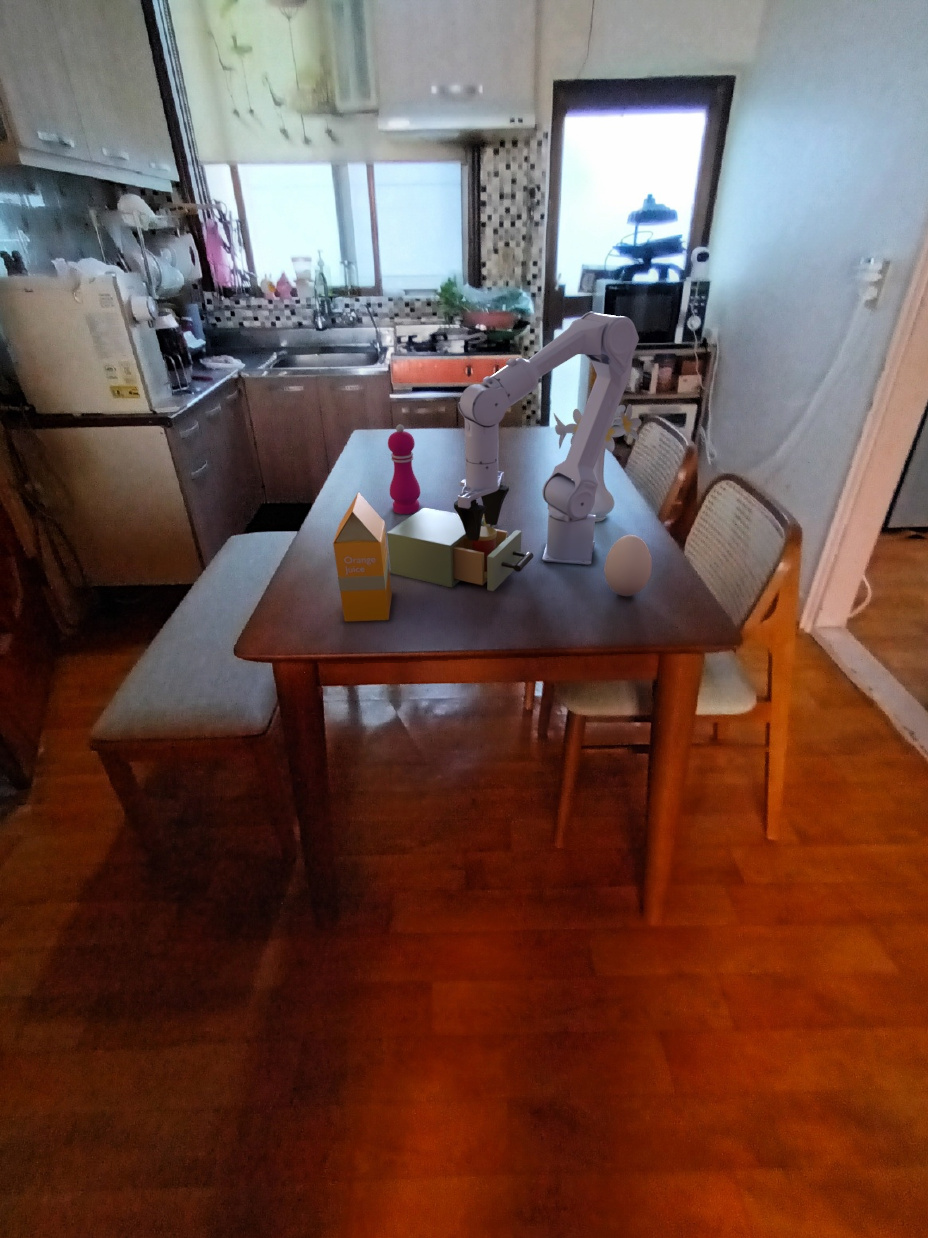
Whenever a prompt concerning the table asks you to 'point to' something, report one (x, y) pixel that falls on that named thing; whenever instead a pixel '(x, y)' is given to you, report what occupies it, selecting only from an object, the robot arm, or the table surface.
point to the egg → (628, 565)
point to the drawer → (490, 560)
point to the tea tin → (485, 543)
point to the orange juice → (363, 563)
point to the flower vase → (603, 452)
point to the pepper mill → (403, 473)
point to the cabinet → (426, 546)
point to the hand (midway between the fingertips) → (482, 531)
